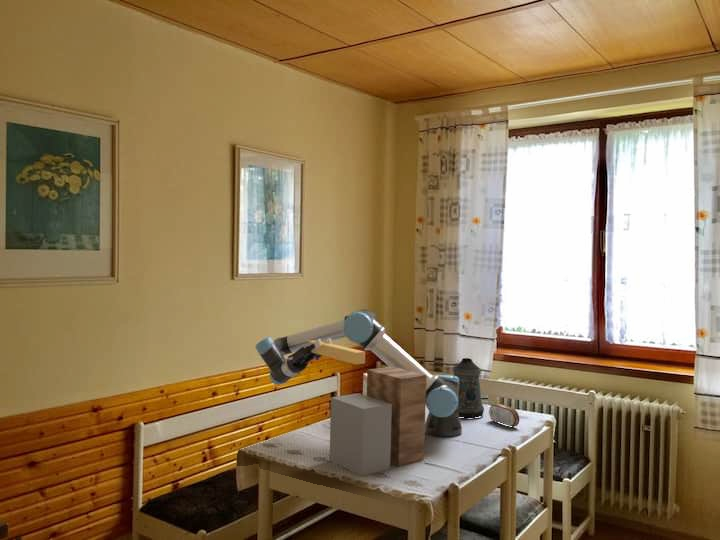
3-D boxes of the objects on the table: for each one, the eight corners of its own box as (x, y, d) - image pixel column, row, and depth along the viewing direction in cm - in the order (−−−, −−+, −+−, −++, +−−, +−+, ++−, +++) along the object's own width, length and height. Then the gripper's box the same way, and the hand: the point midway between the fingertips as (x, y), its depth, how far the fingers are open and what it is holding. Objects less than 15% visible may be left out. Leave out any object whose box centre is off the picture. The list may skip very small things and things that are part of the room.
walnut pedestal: (365, 452, 225) (367, 369, 223) (389, 446, 232) (392, 366, 231) (398, 466, 211) (401, 378, 210) (423, 459, 218) (426, 374, 217)
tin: (519, 429, 260) (520, 409, 259) (514, 430, 258) (515, 410, 257) (492, 420, 272) (493, 401, 272) (487, 421, 270) (488, 402, 270)
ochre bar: (308, 351, 233) (308, 341, 233) (317, 350, 235) (317, 340, 235) (355, 364, 210) (356, 352, 210) (365, 363, 213) (365, 351, 213)
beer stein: (459, 420, 269) (461, 363, 268) (436, 409, 287) (438, 356, 286) (491, 417, 276) (493, 361, 275) (466, 407, 294) (468, 354, 293)
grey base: (329, 460, 214) (331, 397, 214) (356, 454, 222) (358, 393, 221) (362, 476, 200) (364, 408, 200) (389, 468, 208) (391, 403, 207)
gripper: (315, 371, 248) (346, 349, 232) (278, 375, 237) (308, 353, 221) (310, 353, 250) (341, 331, 234) (273, 357, 240) (303, 333, 224)
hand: (325, 341), depth 228 cm, fingers closed on ochre bar, 4 cm apart
